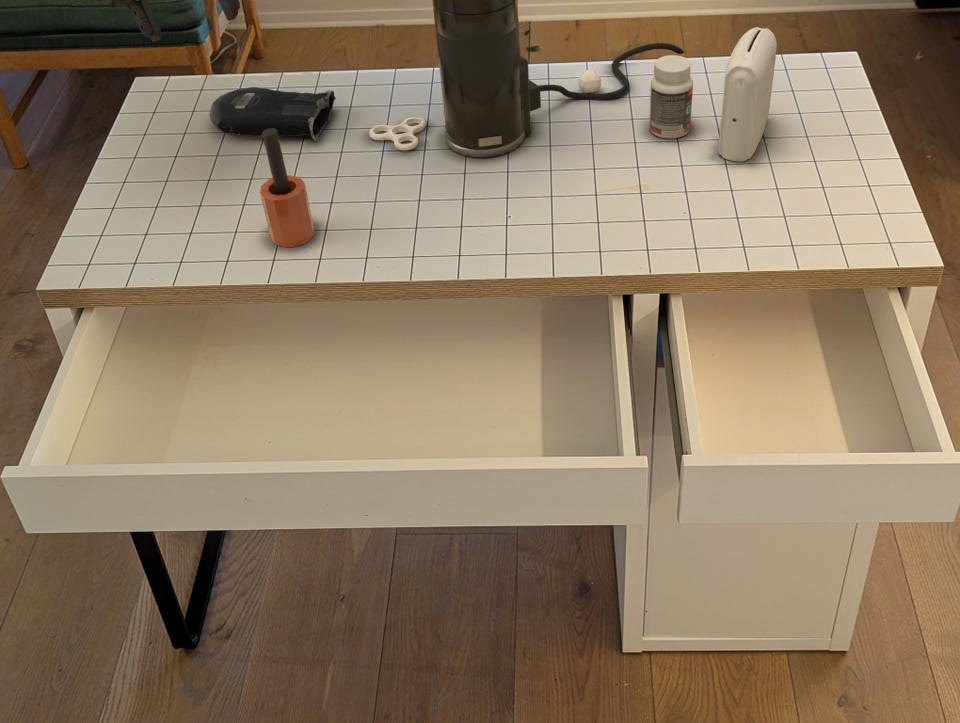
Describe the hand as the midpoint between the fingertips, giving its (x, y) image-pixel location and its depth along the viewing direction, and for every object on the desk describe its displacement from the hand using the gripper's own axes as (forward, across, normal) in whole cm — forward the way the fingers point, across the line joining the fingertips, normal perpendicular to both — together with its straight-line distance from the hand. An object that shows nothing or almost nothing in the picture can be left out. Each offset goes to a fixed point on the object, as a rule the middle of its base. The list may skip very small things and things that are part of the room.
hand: (196, 27), depth 112 cm
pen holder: (+23, +1, +1) cm, 23 cm away
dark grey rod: (+23, +1, +1) cm, 23 cm away
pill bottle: (+29, +45, -9) cm, 54 cm away
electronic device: (+8, +10, +19) cm, 23 cm away
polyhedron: (+20, +44, +1) cm, 49 cm away
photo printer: (+33, +50, -15) cm, 62 cm away
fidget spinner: (+17, +20, +7) cm, 28 cm away
